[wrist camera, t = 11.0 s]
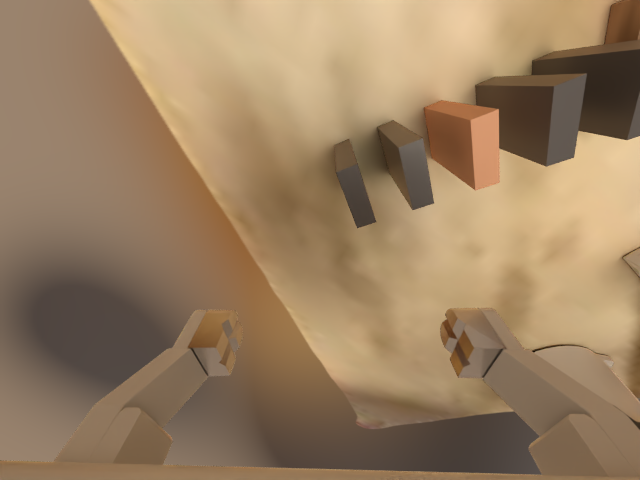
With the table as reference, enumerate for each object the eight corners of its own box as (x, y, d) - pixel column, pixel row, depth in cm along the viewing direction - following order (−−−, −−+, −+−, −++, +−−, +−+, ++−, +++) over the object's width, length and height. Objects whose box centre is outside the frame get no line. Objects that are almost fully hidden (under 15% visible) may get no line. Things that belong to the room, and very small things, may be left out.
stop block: (632, 99, 21) (664, 101, 19) (592, 114, 22) (619, 117, 20) (661, -17, 17) (706, -31, 15) (611, 5, 18) (648, -5, 16)
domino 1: (349, 138, 24) (357, 163, 17) (363, 182, 27) (376, 221, 19) (334, 145, 25) (335, 172, 17) (350, 187, 27) (357, 228, 20)
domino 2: (393, 120, 23) (422, 138, 16) (403, 167, 26) (434, 203, 18) (377, 127, 23) (398, 147, 16) (389, 173, 26) (412, 210, 18)
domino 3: (441, 100, 22) (498, 109, 14) (448, 152, 24) (499, 182, 17) (423, 107, 22) (470, 120, 15) (431, 158, 25) (475, 190, 17)
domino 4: (495, 76, 21) (587, 73, 13) (495, 133, 23) (573, 157, 16) (475, 85, 21) (554, 86, 14) (478, 140, 24) (546, 166, 16)
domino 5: (554, 51, 20) (690, 32, 12) (548, 113, 22) (658, 129, 15) (532, 60, 20) (651, 47, 13) (529, 121, 23) (627, 140, 15)
